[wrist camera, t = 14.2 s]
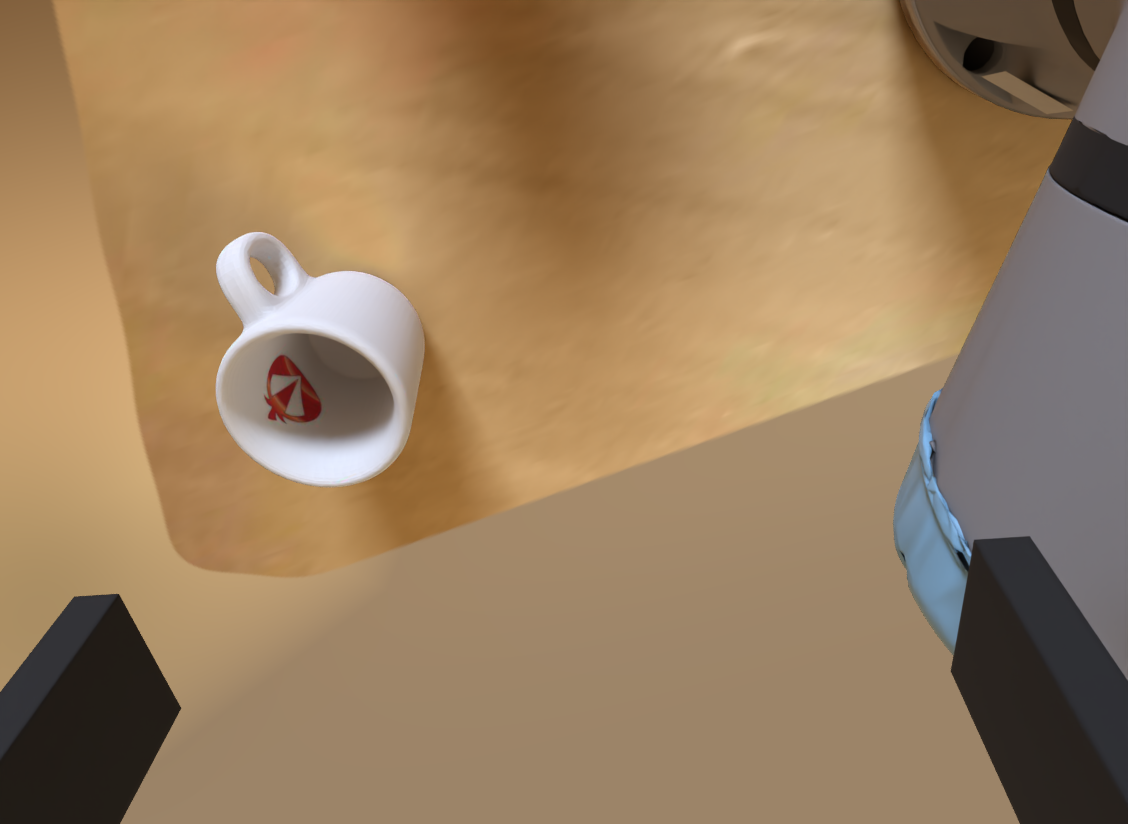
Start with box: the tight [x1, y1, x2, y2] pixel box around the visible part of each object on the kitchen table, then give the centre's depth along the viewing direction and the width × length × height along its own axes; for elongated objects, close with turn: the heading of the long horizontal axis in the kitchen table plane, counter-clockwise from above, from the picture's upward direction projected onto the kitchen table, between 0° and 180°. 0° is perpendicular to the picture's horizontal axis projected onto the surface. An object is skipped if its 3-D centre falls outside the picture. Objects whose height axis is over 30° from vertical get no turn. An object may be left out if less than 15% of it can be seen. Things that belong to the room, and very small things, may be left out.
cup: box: [216, 232, 425, 487], centre depth 36 cm, size 11×8×8 cm
